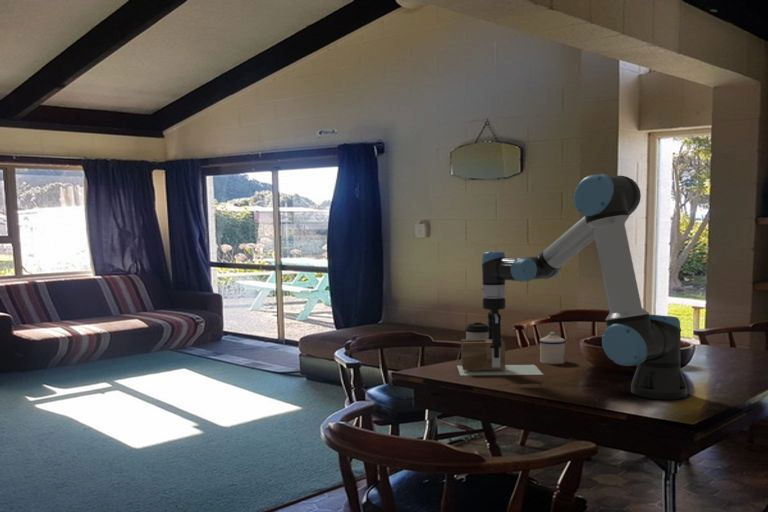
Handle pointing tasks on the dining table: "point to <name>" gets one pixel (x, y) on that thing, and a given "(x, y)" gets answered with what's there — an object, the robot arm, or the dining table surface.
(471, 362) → the slotted block
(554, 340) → the teacup with lid
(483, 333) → the coffee cup
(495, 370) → the board
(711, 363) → the dining table surface
